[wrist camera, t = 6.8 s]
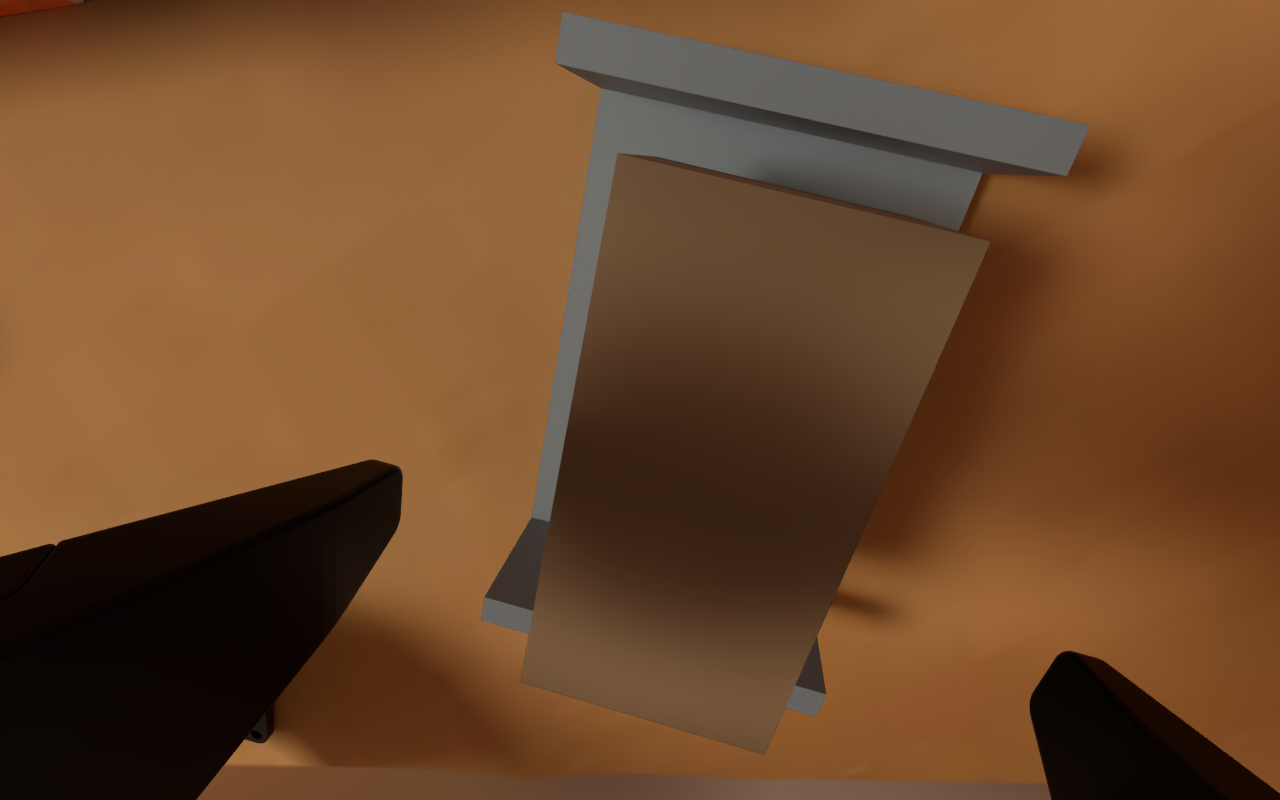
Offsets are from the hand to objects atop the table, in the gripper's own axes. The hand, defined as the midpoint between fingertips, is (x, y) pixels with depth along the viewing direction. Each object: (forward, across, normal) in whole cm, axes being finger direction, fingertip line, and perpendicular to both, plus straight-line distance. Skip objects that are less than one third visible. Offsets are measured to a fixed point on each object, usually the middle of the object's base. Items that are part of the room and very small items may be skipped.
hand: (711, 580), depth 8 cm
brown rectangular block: (+6, 0, 0) cm, 6 cm away
